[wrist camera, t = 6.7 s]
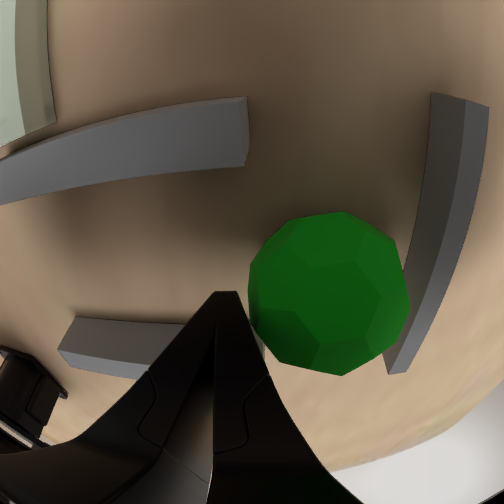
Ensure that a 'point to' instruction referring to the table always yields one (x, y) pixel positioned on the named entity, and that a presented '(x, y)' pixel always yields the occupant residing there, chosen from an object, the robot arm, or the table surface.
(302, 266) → the polyhedron
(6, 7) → the dish
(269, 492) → the robot arm
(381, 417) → the table surface
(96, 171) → the channel
